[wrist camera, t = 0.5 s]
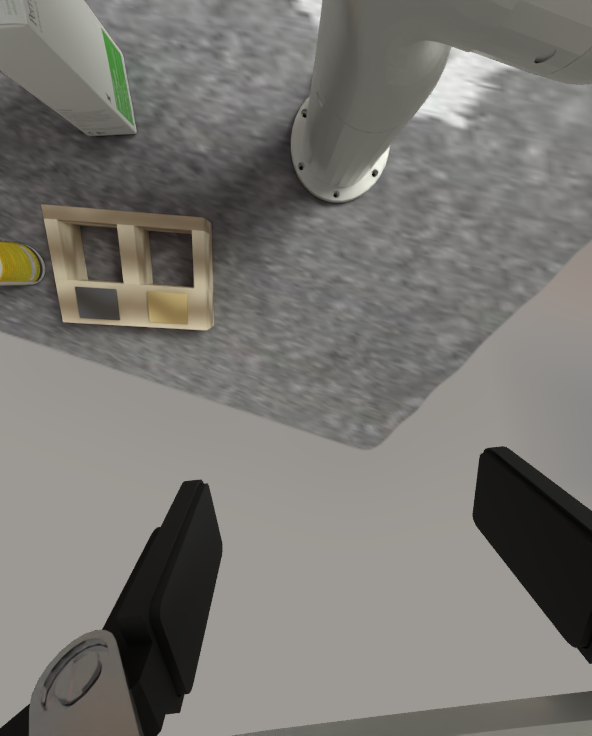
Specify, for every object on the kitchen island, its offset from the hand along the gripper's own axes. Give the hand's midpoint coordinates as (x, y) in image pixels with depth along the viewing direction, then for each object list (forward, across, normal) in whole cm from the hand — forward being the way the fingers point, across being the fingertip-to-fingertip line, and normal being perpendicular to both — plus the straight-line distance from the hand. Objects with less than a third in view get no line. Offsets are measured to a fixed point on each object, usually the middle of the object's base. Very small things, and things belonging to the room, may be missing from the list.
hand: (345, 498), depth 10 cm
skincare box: (+35, +20, -30) cm, 51 cm away
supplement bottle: (+35, +37, -13) cm, 52 cm away
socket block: (+35, +21, -10) cm, 42 cm away
